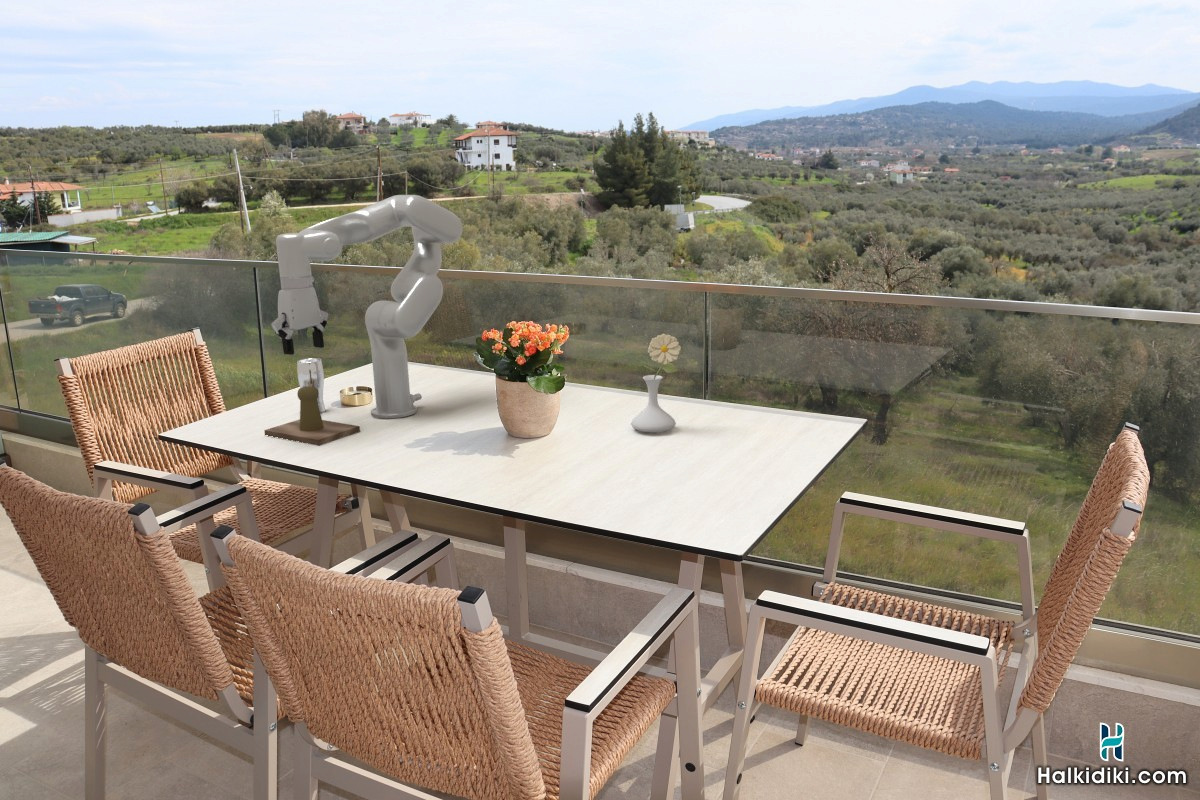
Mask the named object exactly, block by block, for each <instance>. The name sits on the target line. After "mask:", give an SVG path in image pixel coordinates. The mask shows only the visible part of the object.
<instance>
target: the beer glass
mask: <svg viewBox="0 0 1200 800" xmlns="http://www.w3.org/2000/svg"><path fill="white" fill-rule="evenodd" d="M296 363H297V366H296V368H297V369H296V370H297V372H296V373H297V378H298V381H297V382H298V384H299V389H300V388H302V387H306V386H312V387H316V388H317V389H318V393H319V394H318V398H317V401H318V405H319V410H320V414H321V415H322V414H324V413H326V411H327V410H326V406H325V402H324V387H325V386H324V383H325V375H324V369H323V368H324V367H323V363H322V359H321V358H316V357H315V358H314V357H311V358H303V359H298V360H297V361H296ZM323 412H324V413H323Z"/></svg>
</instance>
